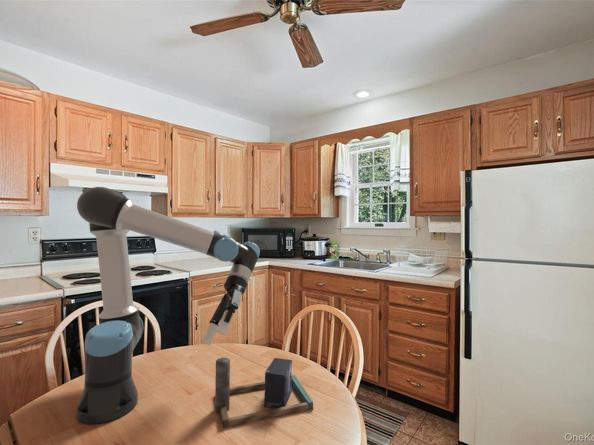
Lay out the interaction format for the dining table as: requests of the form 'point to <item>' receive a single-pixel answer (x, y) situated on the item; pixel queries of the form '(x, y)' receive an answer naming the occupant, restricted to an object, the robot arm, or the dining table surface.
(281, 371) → the small box
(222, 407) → the post and rail frame
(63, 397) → the dining table surface
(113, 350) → the robot arm
